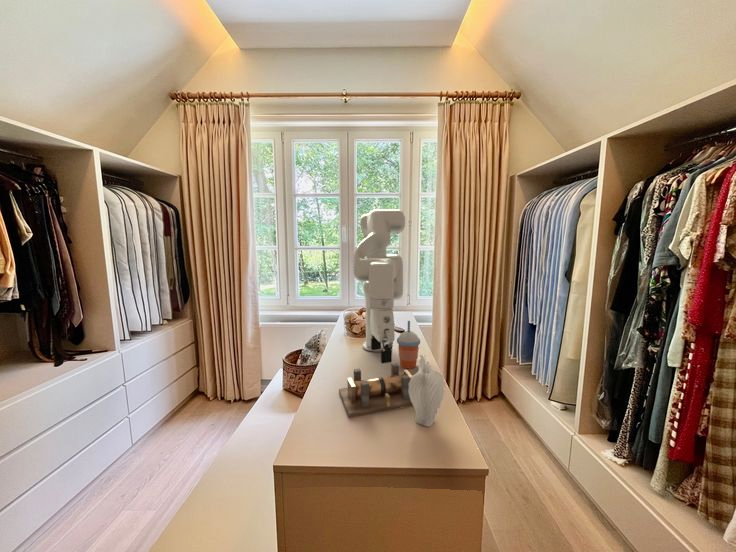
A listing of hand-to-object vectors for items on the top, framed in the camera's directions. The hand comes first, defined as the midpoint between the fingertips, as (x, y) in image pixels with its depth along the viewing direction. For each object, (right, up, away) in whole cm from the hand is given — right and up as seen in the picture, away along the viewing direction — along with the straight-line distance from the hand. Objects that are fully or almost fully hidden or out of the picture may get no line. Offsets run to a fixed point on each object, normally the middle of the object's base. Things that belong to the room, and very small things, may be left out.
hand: (380, 355), depth 92 cm
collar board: (0, -14, +1) cm, 14 cm away
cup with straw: (+12, -11, +24) cm, 29 cm away
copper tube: (0, -13, +1) cm, 13 cm away
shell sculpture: (+12, -16, -11) cm, 22 cm away
